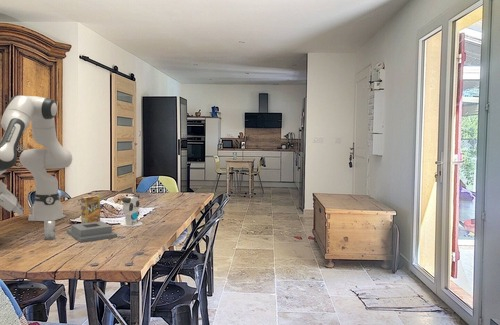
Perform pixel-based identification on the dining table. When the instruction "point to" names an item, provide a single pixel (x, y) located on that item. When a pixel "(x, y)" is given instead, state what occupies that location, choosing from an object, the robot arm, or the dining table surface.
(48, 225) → the metal pin
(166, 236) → the dining table surface
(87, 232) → the socket housing
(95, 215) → the candy box
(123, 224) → the panda figurine
